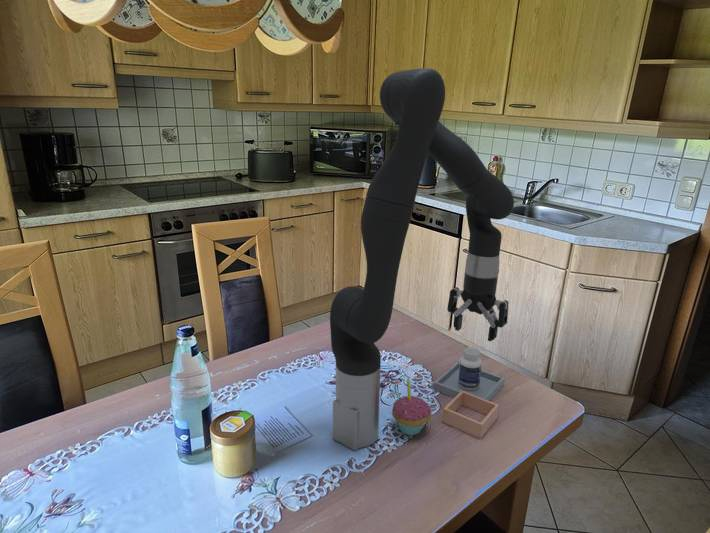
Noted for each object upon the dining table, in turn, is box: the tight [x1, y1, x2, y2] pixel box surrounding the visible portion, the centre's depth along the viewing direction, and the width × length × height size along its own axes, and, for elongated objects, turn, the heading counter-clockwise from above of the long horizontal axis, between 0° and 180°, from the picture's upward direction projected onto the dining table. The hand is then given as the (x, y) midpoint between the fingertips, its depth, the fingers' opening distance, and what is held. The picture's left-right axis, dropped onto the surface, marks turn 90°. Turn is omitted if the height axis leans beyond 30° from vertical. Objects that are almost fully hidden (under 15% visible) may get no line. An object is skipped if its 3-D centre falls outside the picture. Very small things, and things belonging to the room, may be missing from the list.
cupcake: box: [391, 376, 432, 436], centre depth 105 cm, size 9×8×12 cm
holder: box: [442, 391, 500, 440], centre depth 109 cm, size 9×9×4 cm
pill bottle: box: [458, 346, 483, 390], centre depth 120 cm, size 5×5×10 cm
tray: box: [433, 361, 505, 402], centre depth 122 cm, size 13×13×2 cm
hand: (474, 334), depth 117 cm, fingers open, 8 cm apart
